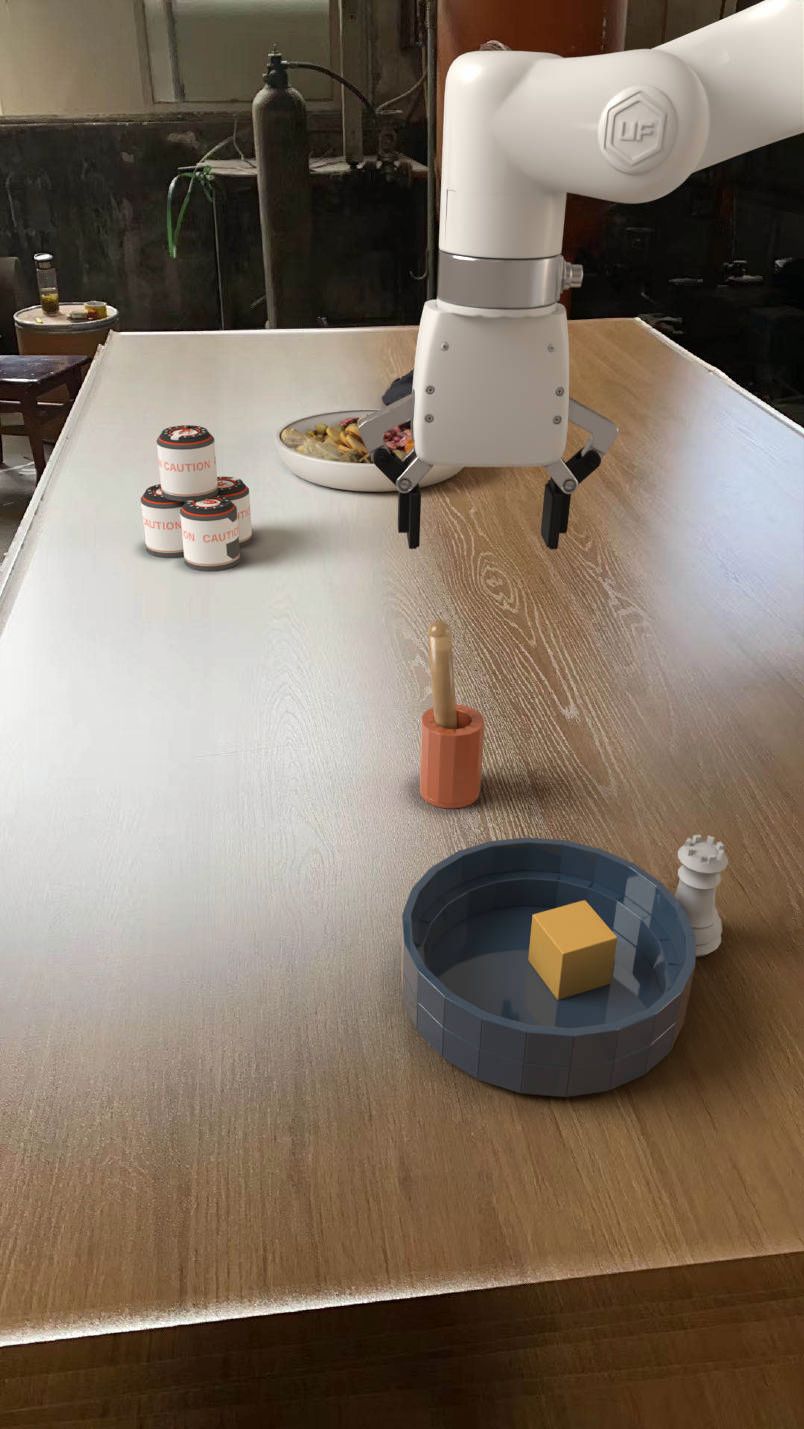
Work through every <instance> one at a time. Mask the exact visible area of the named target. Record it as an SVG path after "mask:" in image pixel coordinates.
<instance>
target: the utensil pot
mask: <svg viewBox="0 0 804 1429" xmlns="http://www.w3.org/2000/svg"><path fill="white" fill-rule="evenodd" d="M456 717H457V729H446V728H443V727H440V726H438V725H437V724H436V723H435V722H434V711H433V706H432V707H430V708H428V709H426V710H425V711H424V713H423V714H422V715H421V718H420V750H419V752H420V756H419V794H420V796H421V798H422V799H423V800H424V801H425V802H427V803H428V804H430V805H432V806H434V807H438V808H442V809H460V808H461V809H462V808H466V807H468V806H470V805H472V804H474V803H475V802H476V801H477V800H478V799H479V797H480V794H481V788H482V787H481V786H482V771H483V757H484V756H483V754H484V752H483V750H484V737H485V736H484V735H485V719H484V716H483V715H482V713H481V712H480V711H478V710H477V709H476V708H473V707H470V706H468V705H463V704H456Z"/></svg>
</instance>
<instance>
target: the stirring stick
mask: <svg viewBox="0 0 804 1429" xmlns="http://www.w3.org/2000/svg"><path fill="white" fill-rule="evenodd" d="M452 639H453V636H452V628H451V626H450V625H449V623H447V622H446V621H444V620H435V621H433V622H431V623H430V625H429V626H428V629H427V644H428V654H429V655H428V656H429V669H430V670H429V671H430V683H431V694H432V695H431V696H432V707H433V711H434V722H435V723H436V724H437V725H438V726H440V727H443V728H446V729H457V717H456V705H457V704H456V689H455V686H456V685H455V672H454V671H455V670H454V655H453V653H454V652H453V640H452Z"/></svg>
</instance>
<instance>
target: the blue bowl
mask: <svg viewBox="0 0 804 1429" xmlns="http://www.w3.org/2000/svg"><path fill="white" fill-rule="evenodd" d="M583 900H586V902H587V903H588V904H589V905H590V906H591V907H592V909H593V910H594V911H595V912H596V913H597V914H598V916H599V917H600V918H601V919H602V920H603V921H604V923H605V924H606V925H607V926H608V927H609V928H610V930H611V931H612V932H613V933H614V934H615V935H616V936H617V944H616V951H615V958H614V965H613V971H612V978H611V983H610V984H608V985H605V986H602V987H599V988H595V989H592V990H589V991H586V992H583V993H579V994H576V995H573V996H570V997H567V998H563V999H560V1000H557V999H556V997H555V996H554V995H553V993H552V992H551V990H550V989H549V988H548V986H547V985H546V984H545V982H544V981H543V980H542V978H541V977H540V976H539V974H538V973H537V971H536V970H535V969H534V967H533V966H532V965H531V963H530V962H529V960H528V957H529V947H530V936H531V926H532V915H533V914H537V913H540V912H544V911H547V910H551V909H555V908H558V907H562V906H565V905H569V904H573V903H576V902H580V901H583ZM400 935H401V940H400V944H401V945H400V949H401V950H400V982H401V996H402V997H401V999H402V1003H403V1005H404V1007H405V1009H406V1011H407V1013H408V1015H409V1017H410V1018H409V1019H411V1022H412V1024H413V1027H414V1028H415V1030H416V1031H417V1033H418V1034H419V1035H420V1036H421V1037H422V1038H423V1039H424V1040H425V1041H426V1042H427V1044H429V1045H430V1046H431V1048H432V1049H434V1051H436V1053H437V1054H438V1055H439V1056H440V1057H441V1058H443V1059H444V1060H446V1061H447V1062H448V1063H450V1064H452V1065H453V1066H456V1067H457V1068H459V1069H460V1070H462V1071H463V1072H465V1073H467V1074H469V1075H470V1076H472V1077H474V1078H475V1079H476V1080H478V1081H480V1082H484V1083H487V1084H490V1085H493V1086H496V1087H500V1088H503V1089H506V1090H509V1091H512V1092H515V1093H519V1094H524V1095H536V1096H537V1095H538V1096H547V1097H548V1096H549V1097H561V1098H570V1097H576V1096H583V1095H589V1094H596V1093H597V1094H598V1093H603V1092H608V1091H611V1090H613V1089H616V1088H618V1087H621V1086H623V1085H625V1084H627V1083H629V1082H632V1081H634V1080H637V1079H638V1078H640V1077H642V1076H643V1077H644V1075H647V1074H648V1073H649V1072H650V1071H651V1070H652V1069H653V1068H655V1066H656V1065H658V1064H659V1063H660V1062H661V1061H662V1060H663V1059H664V1058H665V1057H667V1055H668V1054H670V1053H671V1051H672V1049H673V1047H674V1045H675V1043H676V1041H677V1039H678V1036H679V1035H680V1033H681V1031H682V1028H683V1026H684V1024H685V1019H686V1013H687V1009H688V1005H689V1001H690V1000H689V999H690V994H691V989H692V985H693V979H694V974H695V969H696V960H697V957H696V937H695V933H694V931H693V929H692V926H691V924H690V921H689V919H688V916H687V914H686V912H685V909H684V908H683V906H682V905H681V904H680V903H679V902H678V901H677V899H676V898H675V897H674V894H673V893H672V892H671V891H670V890H669V889H668V888H667V886H665V884H663V883H662V881H661V880H658V879H657V878H656V877H654V876H652V874H650V873H648V872H647V871H646V870H644V869H643V868H641V867H640V866H639V865H637V864H636V863H634V862H632V861H630V860H627V859H625V858H622V857H621V856H618V855H616V854H613V853H611V852H609V851H607V850H604V849H603V848H602V849H601V848H599V847H595V846H591V845H587V844H583V843H578V842H573V841H571V840H566V839H555V838H539V837H527V836H526V837H518V838H516V837H515V838H508V839H507V838H506V839H500V840H499V839H498V840H491V841H486V842H483V843H480V844H477V845H474V846H473V845H472V846H470V847H467V848H463V849H460V850H458V851H456V852H454V853H452V854H451V855H449V856H448V857H445V858H443V860H440V861H439V862H438V863H436V864H434V865H432V866H431V867H430V868H429V869H427V871H426V872H425V873H423V875H422V876H421V877H420V878H419V880H418V881H417V882H416V883H415V884H414V885H413V886H412V887H411V888H410V891H409V894H408V897H407V900H406V902H405V905H404V908H403V911H402V913H401V934H400Z"/></svg>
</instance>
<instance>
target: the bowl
mask: <svg viewBox="0 0 804 1429" xmlns="http://www.w3.org/2000/svg"><path fill="white" fill-rule="evenodd" d="M380 409H381V408H351V409H350V408H349V409H339V410H330V411H329V410H328V411H323V412H317V413H313V414H309V415H305V416H302V417H298V418H295V419H293V420H291V421H288V422H286V423H284V424H283V425H281V426H280V427H279V428H278V429H277V430H276V431H275V434H274V445H275V446H274V447H275V452H276V454H277V456H278V458H279V460H280V462H281V463H282V464H283V466H284V467H285V468H286V469H287V470H289V472H291V473H292V474H294V475H296V476H297V477H299V478H300V479H302V480H305V481H307V482H310V483H313V484H315V485H319V486H322V487H326V488H332V489H338V490H345V491H352V492H353V491H354V492H367V493H368V492H369V493H372V492H373V493H379V492H380V493H382V492H385V493H386V492H398V490H397V488H396V486H395V485H394V484H393V483H392V482H391V481H390V480H389V479H388V478H387V477H386V476H385V475H384V474H383V473H382V472H381V471H380V470H379V469H378V468H377V467H376V465H375V464H374V461H373V459H372V457H371V455H370V453H369V452H368V450H367V448H366V446H365V444H364V442H363V440H362V438H361V436H360V434H359V431H358V423H359V421H360V420H361V419H362V418H364V417H366V416H368V415H370V414H372V413H374V412H376V411H378V410H380ZM383 437H384V439H385V442H386V444H387V446H388V447H389V448H390V449H391V450H392V451H393V452H394V453H395V454H396V455H397V456H398V457H399V458H400V459H401V460H402V459H403V458H404V457H405V456H406V455H407V454H408V453H409V451H410V450H411V449H412V448H413V447H414V446H415V442H413V441H412V438H411V420H409V421H407V422H405V423H403V424H401V425H399V426H397V427H395V428H393V429H391V430H389V431H387V432H386V433H385V434H384V435H383ZM464 468H465V467H450V466H436V465H434V466H433V467H432V468H431V469H430V470H429V472H428V473H427V474H426V475H425V476H424V477H423V478H422V479H421V480H420V482H419V488H426V487H429V486H432V485H433V486H434V485H437V484H439V483H442V482H444V481H446V480H448V479H450V478H452V477H454V476H455V475H457V474H458V473H460V472H461V471H462V470H463V469H464Z"/></svg>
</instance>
